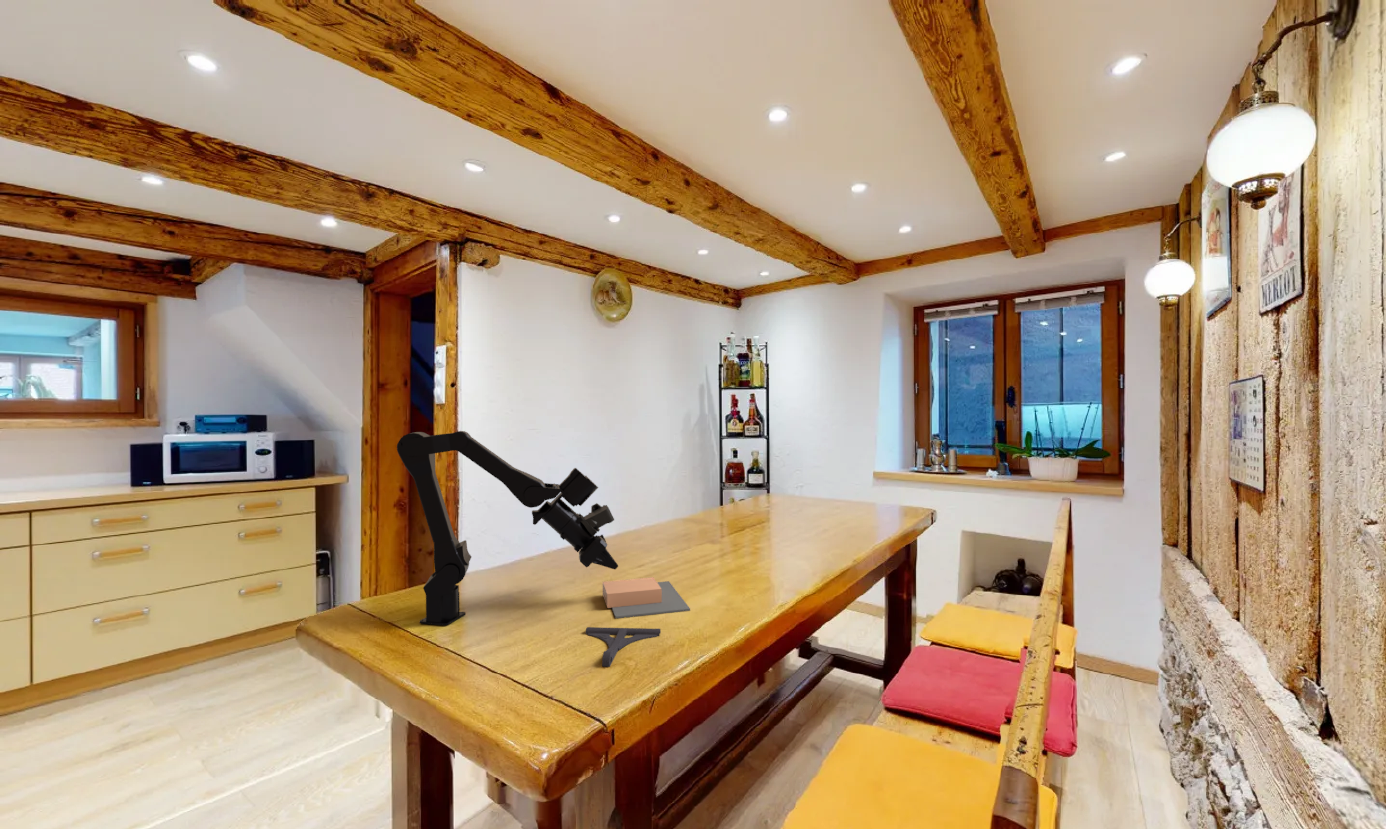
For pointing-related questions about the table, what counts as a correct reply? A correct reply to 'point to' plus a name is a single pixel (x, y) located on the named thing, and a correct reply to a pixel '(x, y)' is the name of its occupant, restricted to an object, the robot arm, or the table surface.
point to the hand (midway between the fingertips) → (616, 567)
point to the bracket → (619, 639)
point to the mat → (655, 604)
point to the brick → (631, 592)
